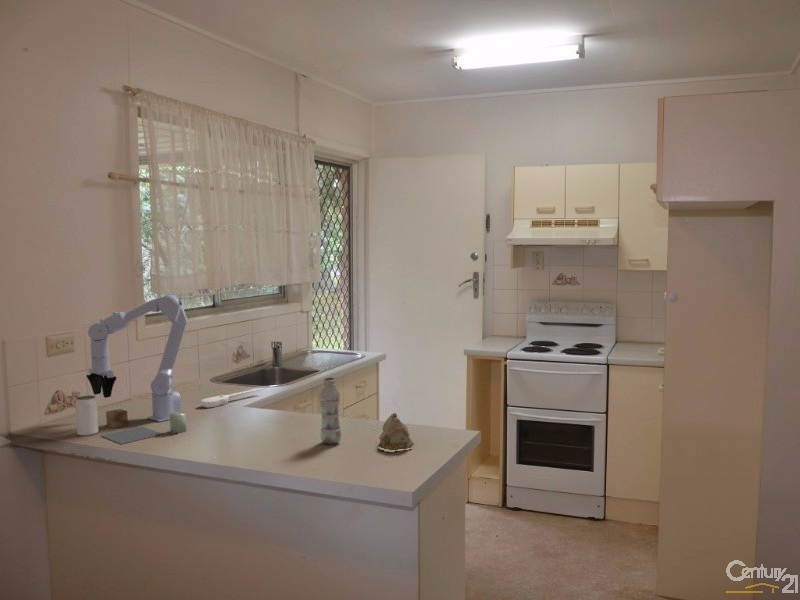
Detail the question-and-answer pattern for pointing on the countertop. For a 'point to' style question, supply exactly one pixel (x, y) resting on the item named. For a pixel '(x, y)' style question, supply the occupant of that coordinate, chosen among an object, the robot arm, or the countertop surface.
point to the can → (86, 415)
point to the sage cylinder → (177, 422)
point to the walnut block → (117, 418)
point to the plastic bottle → (330, 412)
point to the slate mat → (131, 435)
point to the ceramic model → (395, 435)
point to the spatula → (221, 399)
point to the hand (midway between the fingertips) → (102, 395)
